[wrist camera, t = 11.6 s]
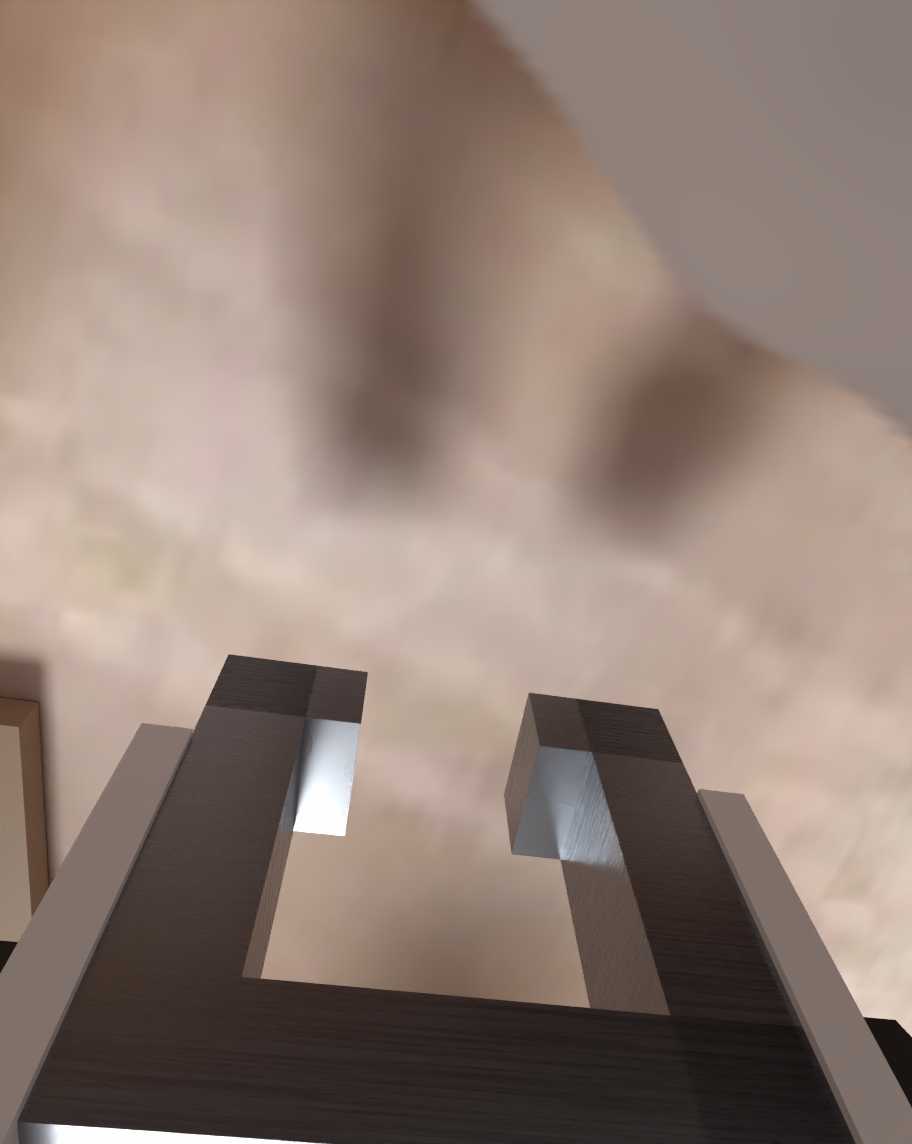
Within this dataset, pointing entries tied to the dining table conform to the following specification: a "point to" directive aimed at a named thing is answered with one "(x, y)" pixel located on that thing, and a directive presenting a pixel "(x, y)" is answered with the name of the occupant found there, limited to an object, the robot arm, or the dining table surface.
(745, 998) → the c link
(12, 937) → the stand
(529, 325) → the dining table surface
